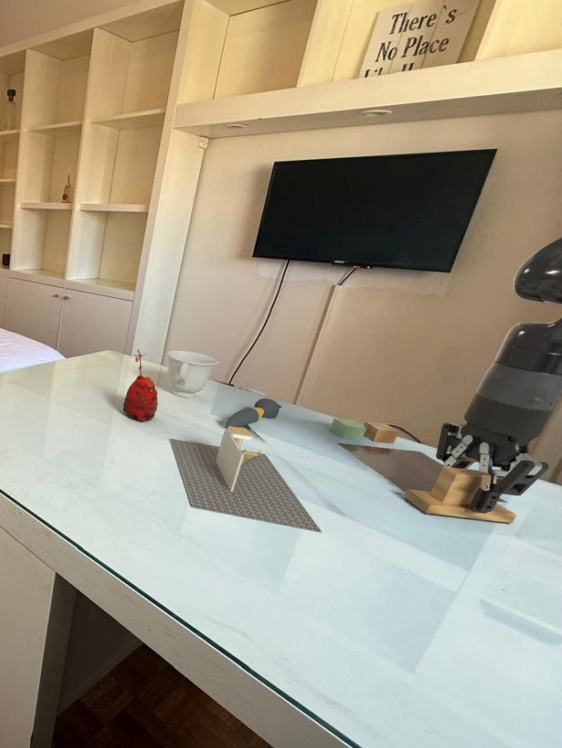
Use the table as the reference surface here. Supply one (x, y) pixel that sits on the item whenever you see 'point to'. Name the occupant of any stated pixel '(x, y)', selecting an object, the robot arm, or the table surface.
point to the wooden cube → (380, 432)
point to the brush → (456, 497)
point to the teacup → (188, 372)
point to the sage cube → (347, 429)
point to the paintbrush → (254, 413)
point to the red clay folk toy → (141, 397)
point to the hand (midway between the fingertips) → (461, 500)
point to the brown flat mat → (400, 466)
